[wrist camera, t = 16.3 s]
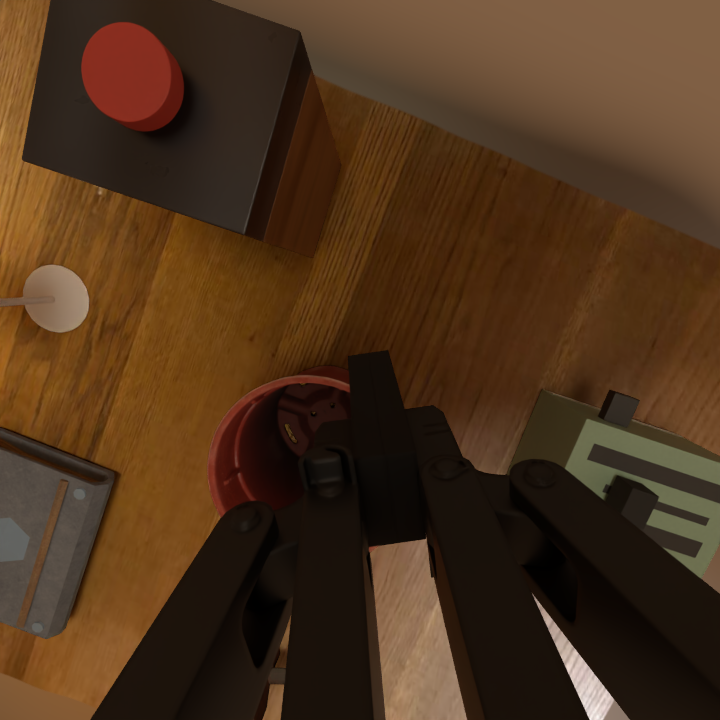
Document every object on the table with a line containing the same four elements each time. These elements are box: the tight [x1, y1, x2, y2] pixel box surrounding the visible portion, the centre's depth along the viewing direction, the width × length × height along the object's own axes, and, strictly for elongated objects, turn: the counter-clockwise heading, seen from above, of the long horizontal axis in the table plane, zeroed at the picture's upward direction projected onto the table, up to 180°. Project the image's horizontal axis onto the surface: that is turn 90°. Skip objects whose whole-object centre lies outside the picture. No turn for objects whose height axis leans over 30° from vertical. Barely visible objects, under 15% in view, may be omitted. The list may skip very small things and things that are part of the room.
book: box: [0, 428, 114, 639], centre depth 53 cm, size 21×16×5 cm
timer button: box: [81, 22, 184, 131], centre depth 21 cm, size 4×4×1 cm
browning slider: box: [605, 475, 659, 530], centre depth 39 cm, size 2×3×3 cm
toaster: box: [506, 389, 720, 578], centre depth 46 cm, size 16×14×11 cm
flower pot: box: [207, 366, 378, 552], centre depth 44 cm, size 16×16×16 cm
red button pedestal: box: [22, 0, 341, 258], centre depth 35 cm, size 12×10×26 cm
